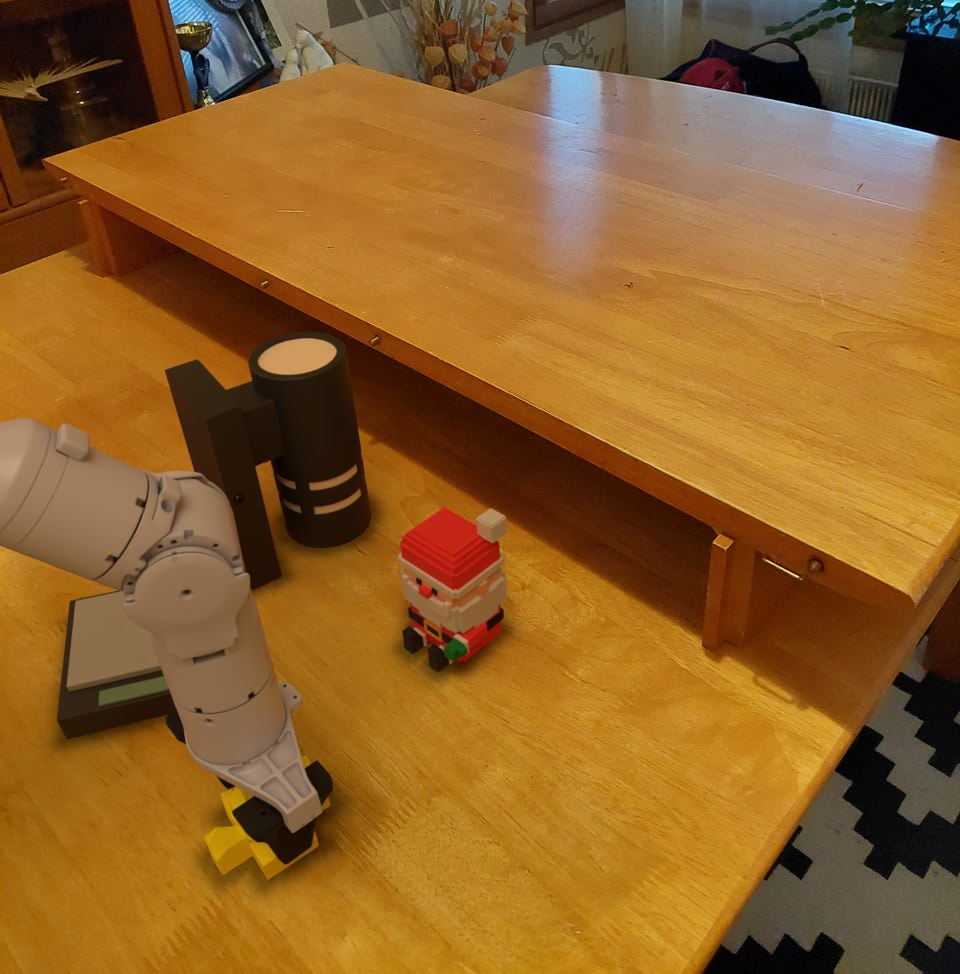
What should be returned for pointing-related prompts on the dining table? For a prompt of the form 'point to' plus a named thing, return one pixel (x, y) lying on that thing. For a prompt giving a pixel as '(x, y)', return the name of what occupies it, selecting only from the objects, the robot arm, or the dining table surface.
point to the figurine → (453, 584)
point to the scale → (108, 669)
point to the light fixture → (280, 444)
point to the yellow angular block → (246, 839)
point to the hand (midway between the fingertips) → (267, 813)
